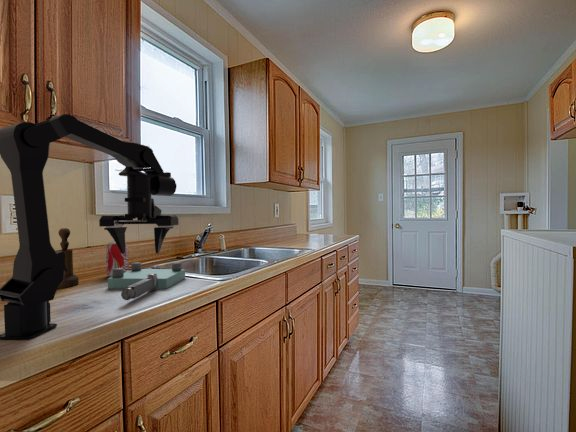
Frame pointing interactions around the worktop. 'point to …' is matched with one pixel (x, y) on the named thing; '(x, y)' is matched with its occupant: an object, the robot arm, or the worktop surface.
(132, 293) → the folding leg
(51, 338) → the worktop surface
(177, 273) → the stool seat
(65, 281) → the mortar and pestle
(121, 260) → the soda can
